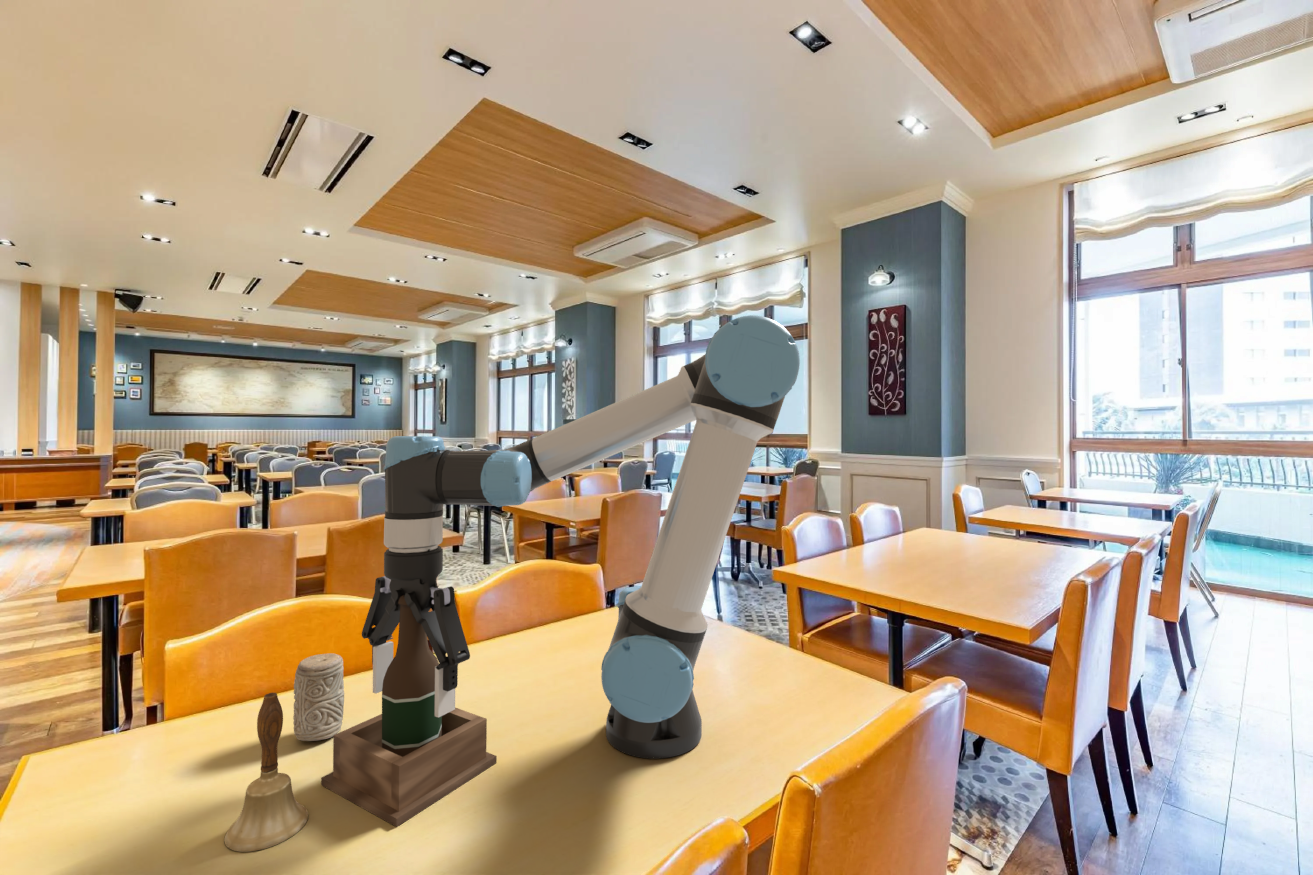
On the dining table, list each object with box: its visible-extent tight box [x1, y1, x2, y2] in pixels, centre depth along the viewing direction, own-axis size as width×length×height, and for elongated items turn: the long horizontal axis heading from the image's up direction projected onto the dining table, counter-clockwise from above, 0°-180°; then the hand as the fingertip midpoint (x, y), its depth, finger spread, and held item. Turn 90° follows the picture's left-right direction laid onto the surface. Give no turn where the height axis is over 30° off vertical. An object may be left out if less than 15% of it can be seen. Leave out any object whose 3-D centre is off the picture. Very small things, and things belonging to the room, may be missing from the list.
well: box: [320, 707, 497, 828], centre depth 80 cm, size 16×16×6 cm
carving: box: [292, 652, 345, 742], centre depth 90 cm, size 6×8×12 cm
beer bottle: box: [381, 595, 442, 757], centre depth 80 cm, size 8×8×24 cm
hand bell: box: [224, 692, 309, 853], centre depth 69 cm, size 8×8×16 cm
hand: (412, 700), depth 80 cm, fingers open, 13 cm apart
